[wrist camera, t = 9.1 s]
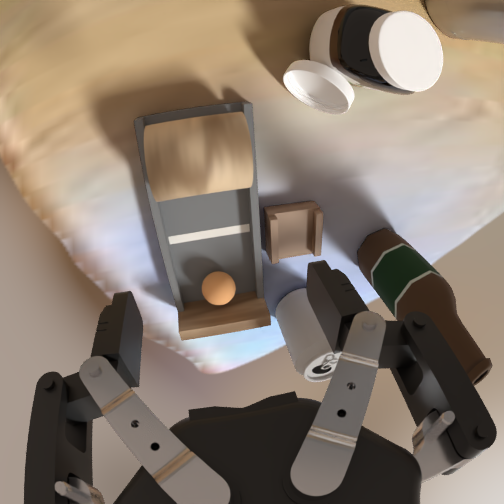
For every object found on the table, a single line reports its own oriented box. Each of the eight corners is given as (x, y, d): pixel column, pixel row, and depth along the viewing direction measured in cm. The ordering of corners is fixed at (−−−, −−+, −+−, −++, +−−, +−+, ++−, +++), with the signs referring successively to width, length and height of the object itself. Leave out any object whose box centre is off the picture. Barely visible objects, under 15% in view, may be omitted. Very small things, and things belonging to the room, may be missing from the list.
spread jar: (387, 37, 26) (460, 37, 16) (369, 123, 32) (436, 151, 22) (289, 2, 23) (342, -27, 13) (270, 100, 29) (314, 115, 19)
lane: (137, 117, 27) (133, 120, 25) (247, 101, 28) (252, 103, 26) (177, 300, 40) (178, 312, 38) (260, 286, 41) (264, 297, 39)
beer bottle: (368, 281, 45) (455, 407, 25) (345, 252, 41) (447, 395, 21) (406, 248, 43) (507, 362, 23) (387, 216, 39) (509, 339, 19)
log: (150, 120, 27) (139, 133, 21) (236, 108, 28) (250, 116, 22) (161, 186, 31) (155, 215, 25) (241, 173, 32) (255, 199, 26)
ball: (197, 267, 36) (201, 284, 39) (202, 298, 33) (205, 313, 37) (232, 262, 36) (232, 279, 39) (238, 292, 34) (238, 307, 37)
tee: (263, 207, 35) (270, 218, 32) (313, 200, 36) (323, 211, 33) (265, 251, 38) (272, 265, 36) (311, 243, 39) (320, 256, 36)
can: (264, 317, 44) (287, 384, 34) (290, 277, 41) (322, 344, 31) (305, 326, 47) (332, 387, 37) (332, 290, 44) (368, 351, 34)
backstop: (177, 300, 40) (178, 331, 35) (260, 286, 41) (270, 315, 36) (180, 309, 40) (181, 340, 36) (260, 295, 42) (270, 325, 37)
